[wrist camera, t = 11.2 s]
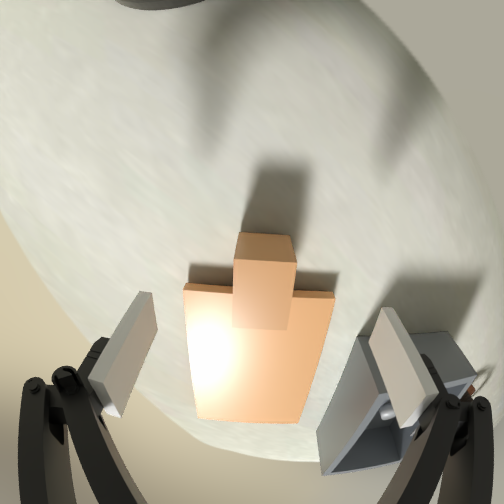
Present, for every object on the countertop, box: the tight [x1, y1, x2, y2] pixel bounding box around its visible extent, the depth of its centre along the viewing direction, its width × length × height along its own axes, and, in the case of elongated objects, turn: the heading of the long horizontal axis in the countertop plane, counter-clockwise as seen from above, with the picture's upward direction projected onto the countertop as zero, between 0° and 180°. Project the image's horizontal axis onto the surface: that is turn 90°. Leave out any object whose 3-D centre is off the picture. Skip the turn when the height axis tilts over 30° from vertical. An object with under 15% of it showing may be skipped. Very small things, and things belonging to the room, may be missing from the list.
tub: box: [316, 331, 477, 476], centre depth 27 cm, size 20×13×8 cm, turn 176°
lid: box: [183, 232, 335, 424], centre depth 25 cm, size 25×13×6 cm, turn 177°
